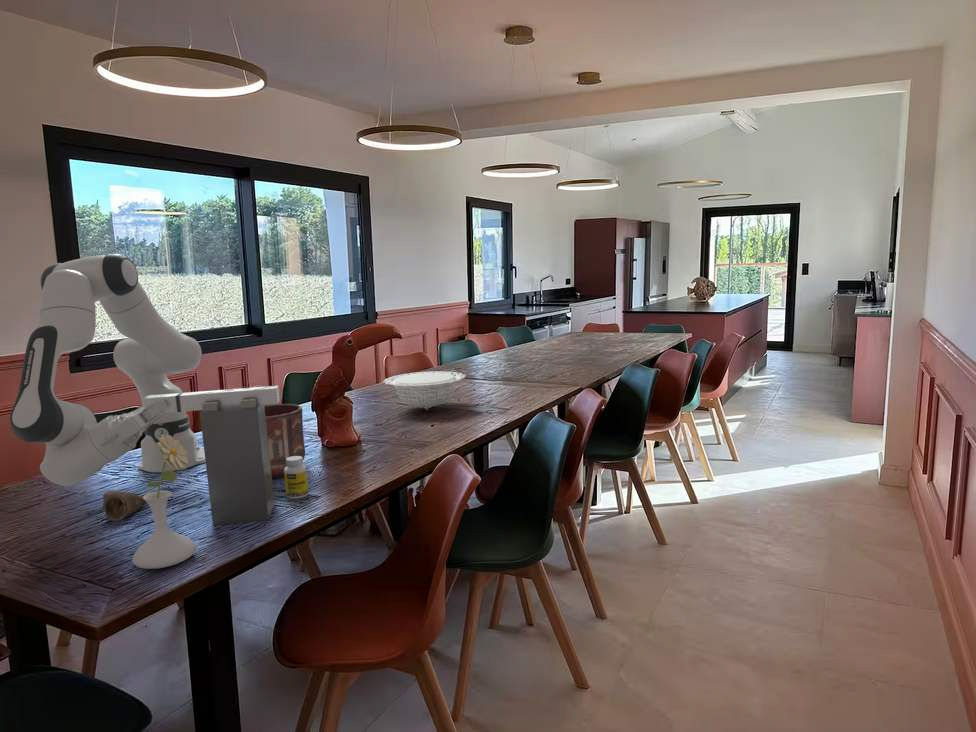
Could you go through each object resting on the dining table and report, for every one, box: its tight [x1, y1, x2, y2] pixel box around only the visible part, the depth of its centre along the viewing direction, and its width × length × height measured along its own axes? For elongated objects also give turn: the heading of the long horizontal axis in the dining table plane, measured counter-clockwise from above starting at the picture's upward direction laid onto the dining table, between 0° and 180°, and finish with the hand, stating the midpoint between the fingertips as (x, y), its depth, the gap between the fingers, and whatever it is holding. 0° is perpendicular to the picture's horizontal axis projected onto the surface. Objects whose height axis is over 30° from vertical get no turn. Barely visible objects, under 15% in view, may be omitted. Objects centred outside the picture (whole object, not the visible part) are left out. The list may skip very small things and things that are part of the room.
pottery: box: [264, 403, 306, 479], centre depth 184 cm, size 18×18×18 cm
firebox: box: [199, 398, 275, 527], centre depth 152 cm, size 10×12×28 cm
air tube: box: [143, 385, 281, 414], centre depth 149 cm, size 4×28×4 cm, turn 101°
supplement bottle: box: [284, 456, 309, 500], centre depth 165 cm, size 5×5×10 cm
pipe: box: [102, 490, 148, 522], centre depth 160 cm, size 6×17×10 cm
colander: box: [382, 370, 466, 411], centre depth 256 cm, size 32×32×13 cm
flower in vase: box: [131, 434, 197, 570], centre depth 129 cm, size 13×11×25 cm
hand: (169, 400), depth 147 cm, fingers closed on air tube, 4 cm apart
